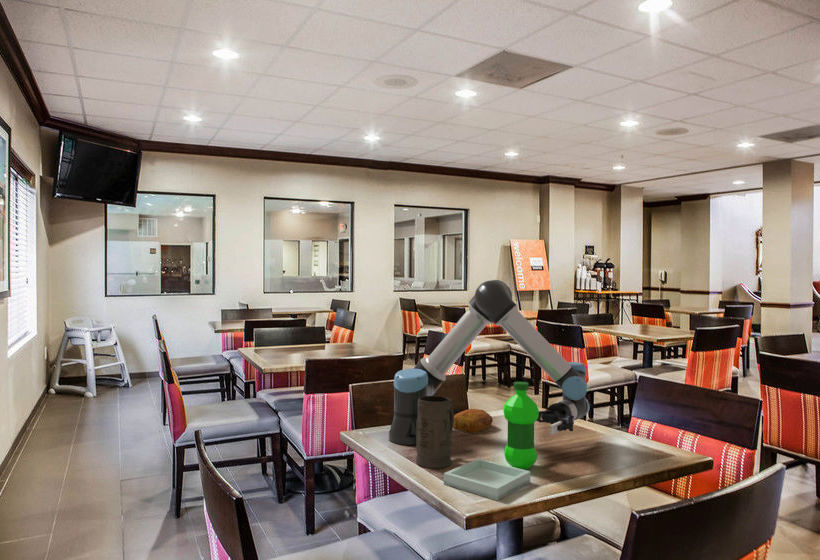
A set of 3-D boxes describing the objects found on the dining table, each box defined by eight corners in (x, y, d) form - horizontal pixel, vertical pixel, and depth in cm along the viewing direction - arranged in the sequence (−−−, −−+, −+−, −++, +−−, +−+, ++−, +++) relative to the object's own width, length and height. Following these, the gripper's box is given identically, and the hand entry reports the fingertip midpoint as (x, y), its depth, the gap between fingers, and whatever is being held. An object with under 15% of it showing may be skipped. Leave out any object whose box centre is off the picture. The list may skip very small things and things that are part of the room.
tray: (443, 484, 156) (443, 473, 156) (478, 468, 169) (478, 458, 169) (497, 500, 145) (497, 488, 145) (530, 482, 158) (530, 471, 158)
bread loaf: (498, 433, 215) (500, 411, 216) (474, 436, 204) (477, 413, 204) (466, 425, 225) (469, 404, 225) (442, 427, 213) (445, 405, 214)
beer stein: (440, 471, 166) (443, 401, 167) (408, 465, 171) (411, 397, 172) (462, 460, 179) (464, 396, 180) (431, 454, 185) (434, 392, 186)
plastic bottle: (497, 462, 175) (498, 380, 174) (529, 460, 177) (530, 379, 177) (510, 473, 165) (511, 386, 164) (544, 471, 167) (545, 385, 167)
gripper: (597, 431, 182) (568, 446, 166) (527, 418, 198) (494, 430, 182) (598, 408, 182) (569, 420, 166) (527, 396, 198) (494, 407, 182)
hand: (530, 426), depth 174 cm, fingers open, 13 cm apart
